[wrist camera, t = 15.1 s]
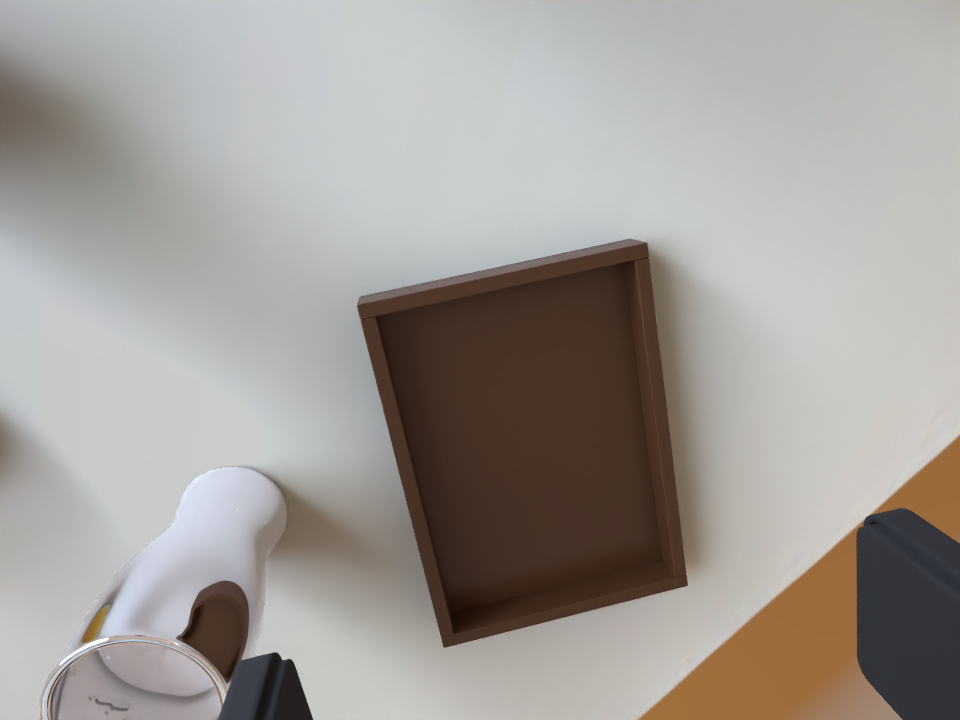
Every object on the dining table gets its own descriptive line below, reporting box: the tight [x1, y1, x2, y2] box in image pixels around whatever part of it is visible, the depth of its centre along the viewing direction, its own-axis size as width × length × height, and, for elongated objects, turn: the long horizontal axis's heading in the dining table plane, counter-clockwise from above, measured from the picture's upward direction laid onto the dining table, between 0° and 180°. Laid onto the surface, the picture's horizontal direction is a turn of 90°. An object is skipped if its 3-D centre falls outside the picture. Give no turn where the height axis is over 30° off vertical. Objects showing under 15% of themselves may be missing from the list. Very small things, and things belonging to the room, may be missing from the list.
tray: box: [357, 239, 688, 648], centre depth 38 cm, size 22×16×3 cm
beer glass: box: [39, 466, 287, 720], centre depth 31 cm, size 7×7×15 cm
